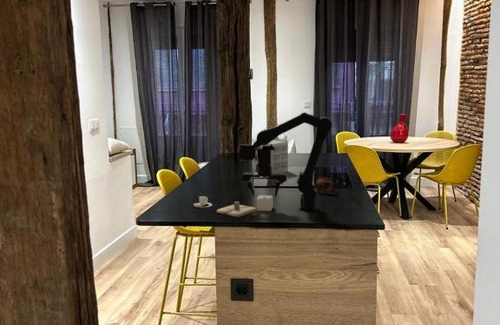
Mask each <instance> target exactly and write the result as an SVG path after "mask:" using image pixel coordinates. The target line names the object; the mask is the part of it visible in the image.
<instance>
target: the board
mask: <svg viewBox="0 0 500 325" xmlns="http://www.w3.org/2000/svg"><path fill="white" fill-rule="evenodd" d="M256 211H258V210H257V207H254V206H248V205H242V204H240V201H233V204H230V205H228V206H224V207H221V208H218V209H216V213H219V214H223V215H228V216H232V217H236V218H240V217H243V216H245V215H246V216H247V215H248V214H251V213H255V212H256Z"/></svg>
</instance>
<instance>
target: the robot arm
mask: <svg viewBox="0 0 500 325" xmlns="http://www.w3.org/2000/svg"><path fill="white" fill-rule="evenodd" d="M303 124H306V125H307V124H308V126H312V127H315V137H314V141H313V144H312V146H311V149H310V153H309V157H308V159H307V162H306V164H305V168H304V170H303V171H299V174H298V175H299V176H298V178H297V180H296V184H297V189H298V191H299V192H300V193H302V194H301V195H300V196H301V197H300V199H299V200H300V204H299V206H300V207H299V210H300V211H306V212H310V213H313V212H315V211H317V210H320V206H319V203H318V202H319V195H318V194H317V189H316V188H317V186H315V185H313V181H314V172H315V170H316V169H315V168H316V166H317V162H318V159H319V156H320V154H321V151H322V148H323V145H324V142H325V140H326V139H327V137H328V134H330V131H331V129H332V126H333V123H332V120H331V119H330V117H328V116H322V117H320V116H316V115H313V114H311V113H307V112H301V114H299V115H297V116H295V117H293V118H291V119H288V120H286V121H285V122H282V123H281V124H279V125H277V126H273V127H269V128H266V129H262V130H260V131H259V132H258V134H257V135H256V140H255V141H256V142H254V141H253V144H243V143H242V144H240V145H239V153H238V157H239V158H238V159H239V161H240V162H241V161H245V162H246V161H249V162H250V161H251V162H254V158H256V150H257V158H258V164H256V171H255V172H257V174H253V173H254V172H250V171H249V172H247V171H246V172H244V173H242V175H241V182H244V183H245V184H247V186H248V188H249V189H250V192H251V194H252V196H253V198H255V196H256V195H255V194H256V190H255V182H254V181H255V180H276V182H275V192H274V197H275V198H277V196H278V193H279V190H280V186H281V185H283V184H284V183H285V182H286V183H287V181H288V174H287V172H283V173H278V174H272V166H271V150H275V149H276V148H275V147H274V146H273V145H272V144H271V145H270V146H263V147H262V148H258V147H259V146H261V145H267V144H268V143H270V142H271V141H272V140H276V138H277V137H279V136H281V135H282V134H285V133H287V132H288V131H291V130H292V129H295V128H297V127H299V126H301V125H303Z"/></svg>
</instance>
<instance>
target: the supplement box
mask: <svg viewBox="0 0 500 325" xmlns="http://www.w3.org/2000/svg"><path fill="white" fill-rule="evenodd" d="M254 142H256V140H254V141H253V143H254ZM271 144H272V145H273V146H274V147H275V148H276V149H275V150H271V166H272V174H271V175H277V174H278V173H288V172H289V142H288V141H284V140H283V141H282V140H276V139H274V140H272V141H271V142H270V143H268V144H267V145H261V146H259V147H258V148H262V147H263V146H270V145H271ZM256 164H258V158H257V150H256V158H254V160H253V171H255V172H257V171H256Z"/></svg>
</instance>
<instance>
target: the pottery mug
mask: <svg viewBox="0 0 500 325" xmlns="http://www.w3.org/2000/svg"><path fill="white" fill-rule="evenodd" d="M315 184H316V189H317V193H318V194H323V195H324V194H325V193H330V192H331V191H333V190H334V181H333V180H332V179H331V178H329V177H323V176H321V177H317V180H316V181H315Z"/></svg>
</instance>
